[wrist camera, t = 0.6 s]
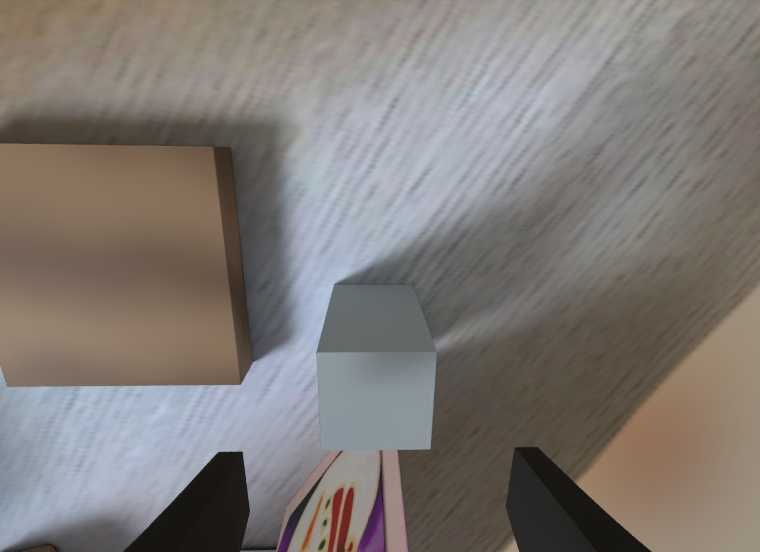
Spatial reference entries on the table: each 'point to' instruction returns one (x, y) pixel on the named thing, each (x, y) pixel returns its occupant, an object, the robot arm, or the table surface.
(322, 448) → the slate block
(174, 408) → the table surface
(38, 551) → the wooden block
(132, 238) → the walnut base
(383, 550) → the greeting card
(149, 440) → the table surface
